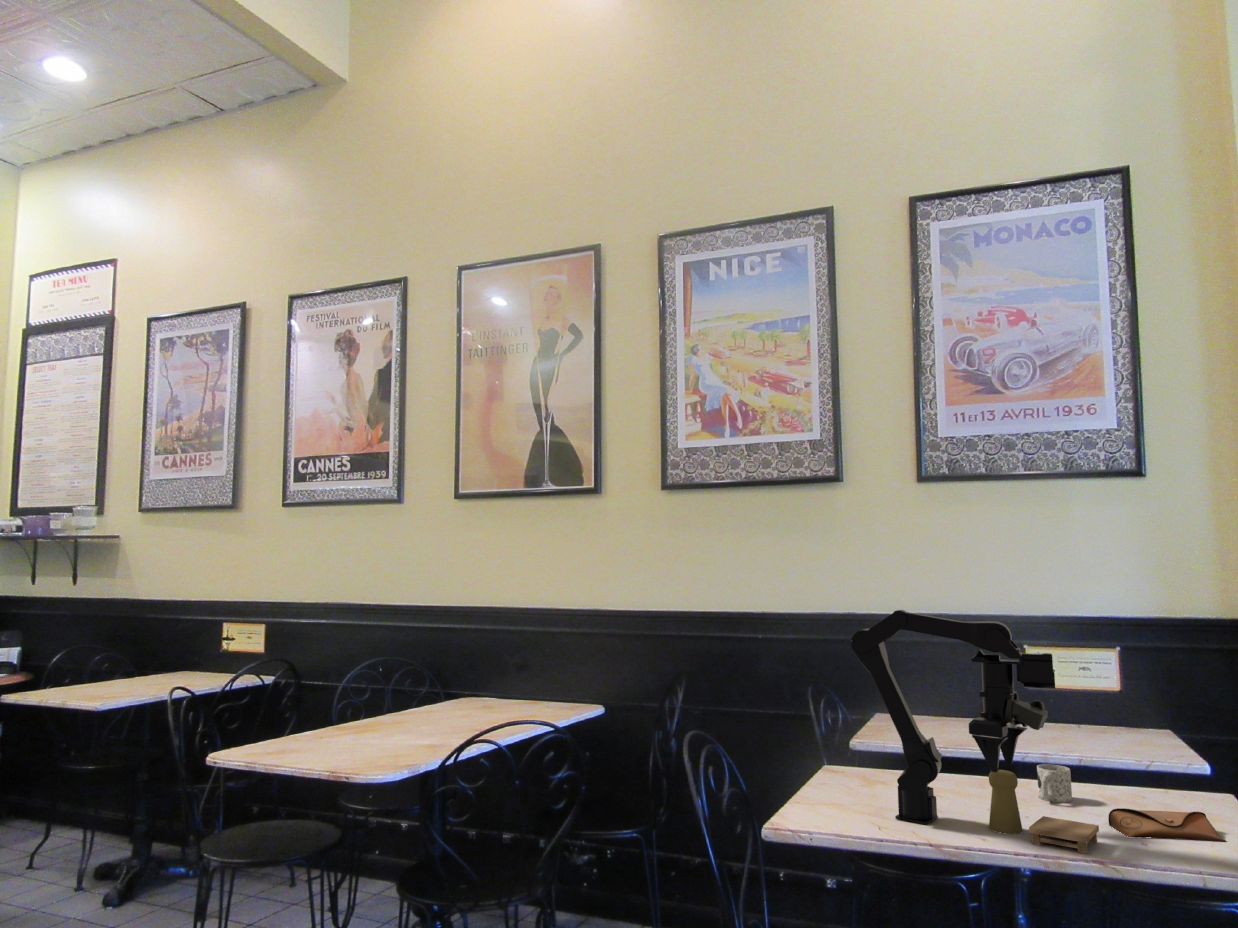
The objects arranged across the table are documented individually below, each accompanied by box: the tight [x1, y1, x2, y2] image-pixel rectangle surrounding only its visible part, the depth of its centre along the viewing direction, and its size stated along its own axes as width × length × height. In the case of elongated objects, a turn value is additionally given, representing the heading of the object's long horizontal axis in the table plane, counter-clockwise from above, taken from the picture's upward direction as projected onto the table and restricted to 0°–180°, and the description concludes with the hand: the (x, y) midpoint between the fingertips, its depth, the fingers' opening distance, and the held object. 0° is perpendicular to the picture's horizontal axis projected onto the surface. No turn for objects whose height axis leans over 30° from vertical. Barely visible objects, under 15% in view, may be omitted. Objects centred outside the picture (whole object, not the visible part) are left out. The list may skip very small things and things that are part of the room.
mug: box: [1036, 763, 1073, 804], centre depth 191 cm, size 10×7×7 cm, turn 136°
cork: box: [988, 769, 1024, 835], centre depth 169 cm, size 6×6×11 cm
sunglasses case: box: [1108, 807, 1227, 842], centre depth 166 cm, size 18×7×7 cm
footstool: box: [1028, 815, 1100, 855], centre depth 160 cm, size 10×10×3 cm
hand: (1001, 767), depth 170 cm, fingers open, 9 cm apart
